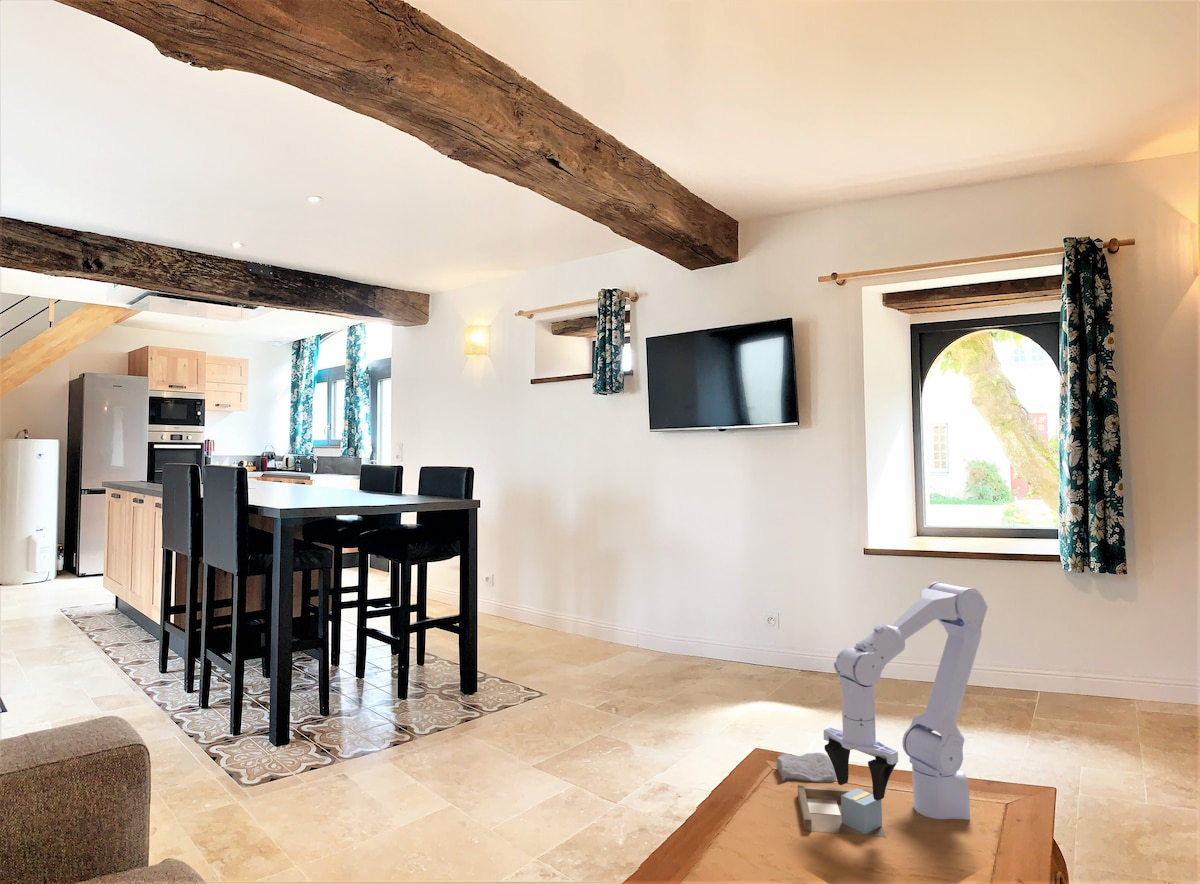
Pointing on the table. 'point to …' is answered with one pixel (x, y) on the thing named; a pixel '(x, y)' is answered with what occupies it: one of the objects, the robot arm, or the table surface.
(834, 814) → the tray
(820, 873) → the table surface
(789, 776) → the stone block
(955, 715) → the robot arm
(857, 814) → the cube
